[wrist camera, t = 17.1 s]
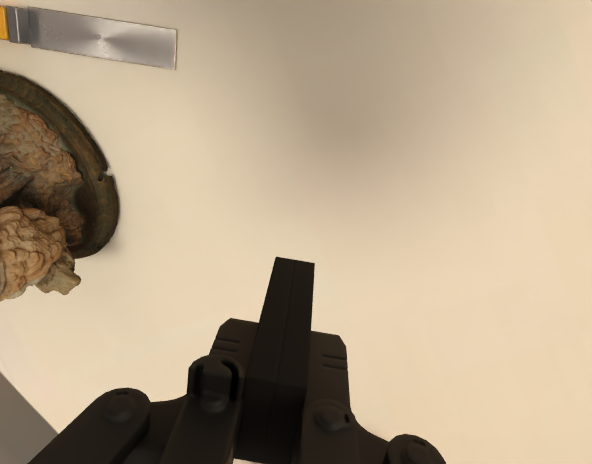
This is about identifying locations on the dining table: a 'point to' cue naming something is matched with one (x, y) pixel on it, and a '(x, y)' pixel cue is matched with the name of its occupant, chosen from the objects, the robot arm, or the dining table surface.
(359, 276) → the dining table surface
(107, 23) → the yellow handled chisel
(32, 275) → the beige stone figure
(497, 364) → the dining table surface
